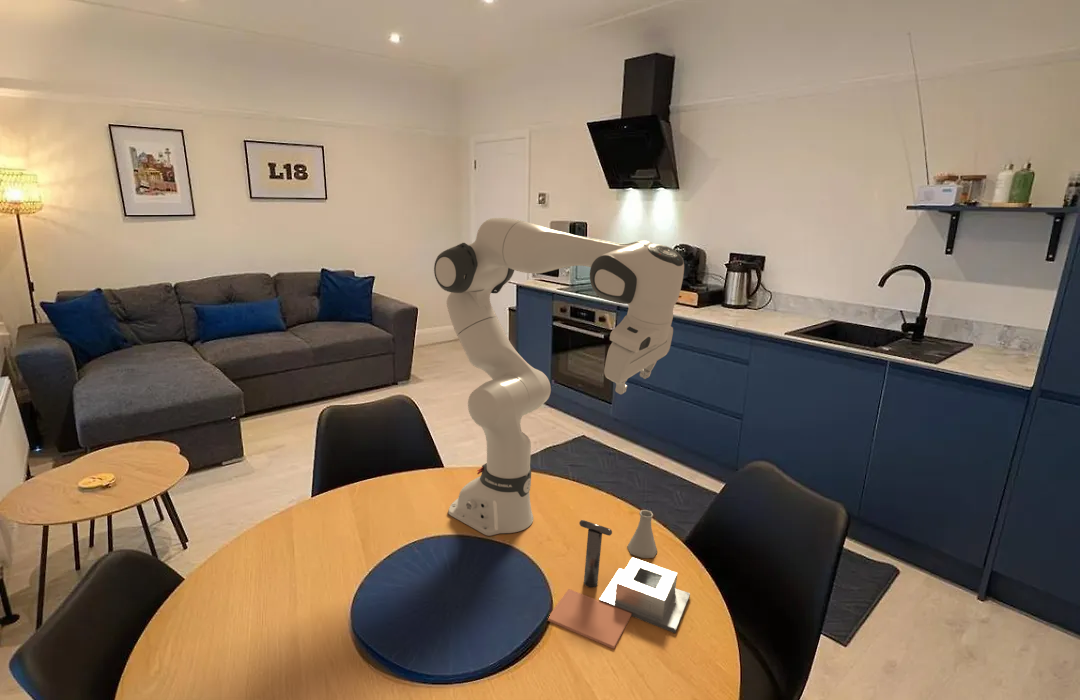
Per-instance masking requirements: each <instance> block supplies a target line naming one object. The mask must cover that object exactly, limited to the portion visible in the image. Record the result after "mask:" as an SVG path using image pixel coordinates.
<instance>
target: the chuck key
mask: <svg viewBox="0 0 1080 700" xmlns="http://www.w3.org/2000/svg"><path fill="white" fill-rule="evenodd" d="M579 526H580V527H582V528H585V529H587V541H586V550H585V551H586V552H585V554H586V555H585V561H584V562H585V564H584V575H583V576H584V577H583V585H584V586H586V587H587V588H589V589H591V588H593V589H594V588H596V587H597V586H598V583H599V573H600V572H599V571H600V560H601V552H602V551H601V549H602V538H603V535H606V536H611V535H612V534H613V531H612V529H611V528H608V527H606V526H602V525H600V524H597V523H593V522H591V521H588V520H584V519H580V521H579Z"/></svg>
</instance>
